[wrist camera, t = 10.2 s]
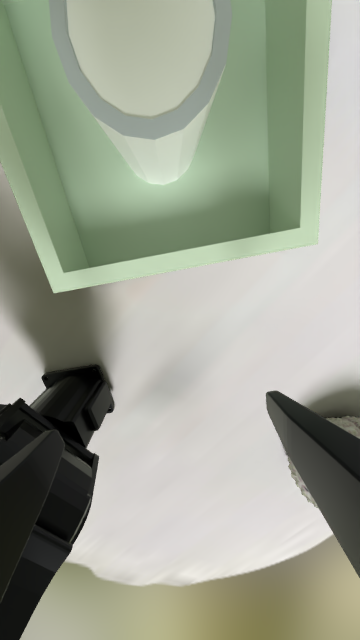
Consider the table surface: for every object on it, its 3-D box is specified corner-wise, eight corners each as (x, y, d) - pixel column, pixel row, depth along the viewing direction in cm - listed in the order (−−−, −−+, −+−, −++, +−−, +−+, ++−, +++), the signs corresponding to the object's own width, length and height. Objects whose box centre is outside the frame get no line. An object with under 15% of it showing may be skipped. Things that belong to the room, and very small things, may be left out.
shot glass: (188, 206, 15) (199, 162, 8) (104, 176, 14) (39, 101, 7) (218, 99, 13) (264, -77, 6) (121, 57, 12) (52, -195, 5)
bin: (86, 284, 18) (53, 293, 13) (-9, 2, 12) (-134, -172, 7) (277, 248, 17) (317, 243, 12) (275, -70, 11) (350, -318, 6)
